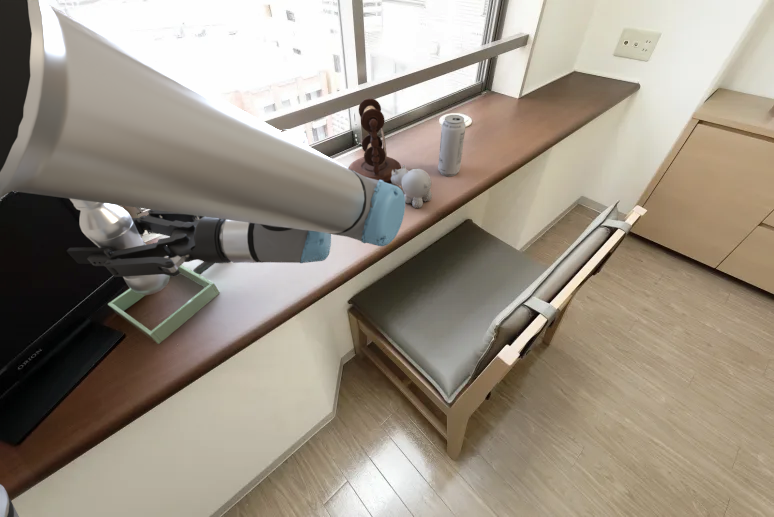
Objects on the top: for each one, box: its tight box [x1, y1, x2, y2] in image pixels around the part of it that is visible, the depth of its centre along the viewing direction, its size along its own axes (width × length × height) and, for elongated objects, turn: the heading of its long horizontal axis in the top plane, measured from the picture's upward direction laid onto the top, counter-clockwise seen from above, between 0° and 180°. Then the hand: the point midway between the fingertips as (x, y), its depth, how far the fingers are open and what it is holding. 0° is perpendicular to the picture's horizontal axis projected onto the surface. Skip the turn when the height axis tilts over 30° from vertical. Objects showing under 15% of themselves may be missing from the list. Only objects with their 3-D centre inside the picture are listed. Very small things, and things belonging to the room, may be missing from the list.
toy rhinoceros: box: [391, 164, 433, 209], centre depth 85 cm, size 7×12×8 cm, turn 44°
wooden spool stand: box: [347, 97, 402, 184], centre depth 88 cm, size 15×15×20 cm
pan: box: [107, 261, 220, 345], centre depth 67 cm, size 23×13×3 cm, turn 149°
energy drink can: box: [437, 114, 467, 177], centre depth 90 cm, size 6×6×15 cm
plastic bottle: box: [69, 199, 171, 296], centre depth 55 cm, size 6×7×20 cm
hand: (88, 241), depth 54 cm, fingers closed on plastic bottle, 6 cm apart
